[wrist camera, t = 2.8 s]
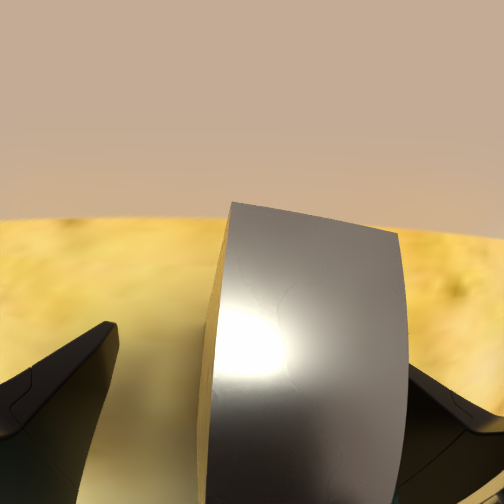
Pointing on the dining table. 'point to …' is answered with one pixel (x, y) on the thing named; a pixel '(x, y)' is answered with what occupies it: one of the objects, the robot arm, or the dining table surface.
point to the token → (303, 363)
